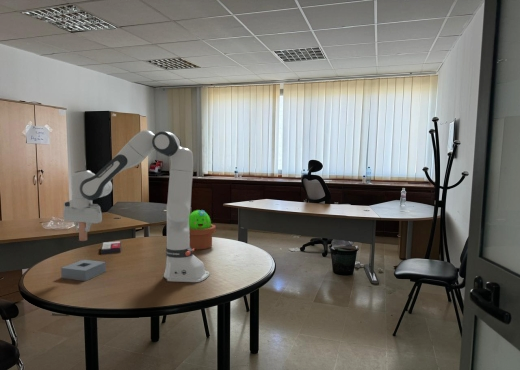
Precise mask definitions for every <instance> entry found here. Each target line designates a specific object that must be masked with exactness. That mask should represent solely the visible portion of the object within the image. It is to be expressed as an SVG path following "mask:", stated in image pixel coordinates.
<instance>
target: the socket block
mask: <svg viewBox="0 0 520 370" xmlns="http://www.w3.org/2000/svg"><path fill="white" fill-rule="evenodd" d="M60 270H61V271H60V273H61V279H67V280H76V281H84V282H86V281H88V280H90V279H93V278H95V277H98V276H99V275H102V274H104V273H106V272H107V262H106V261H99V260H89V259H81V260H78V261H76V262H72V263H70V264H67V265H65V266H62V267H60Z"/></svg>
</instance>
